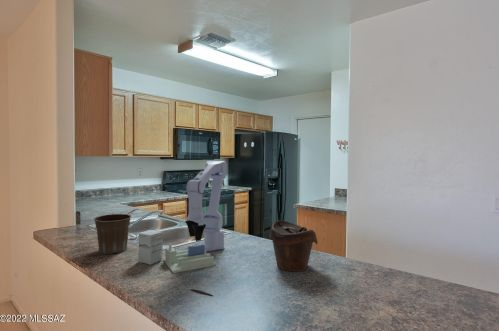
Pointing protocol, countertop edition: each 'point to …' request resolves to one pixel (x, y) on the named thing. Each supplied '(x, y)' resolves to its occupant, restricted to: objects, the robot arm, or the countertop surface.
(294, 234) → the brown covered basket
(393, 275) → the countertop surface
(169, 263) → the dish rack
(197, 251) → the slate blue tile
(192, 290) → the fork
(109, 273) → the countertop surface
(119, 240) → the plant pot
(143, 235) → the supplement box
